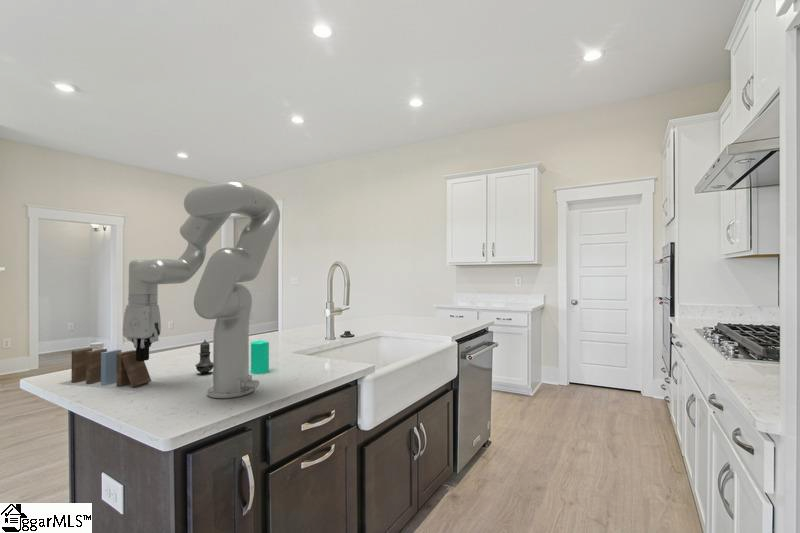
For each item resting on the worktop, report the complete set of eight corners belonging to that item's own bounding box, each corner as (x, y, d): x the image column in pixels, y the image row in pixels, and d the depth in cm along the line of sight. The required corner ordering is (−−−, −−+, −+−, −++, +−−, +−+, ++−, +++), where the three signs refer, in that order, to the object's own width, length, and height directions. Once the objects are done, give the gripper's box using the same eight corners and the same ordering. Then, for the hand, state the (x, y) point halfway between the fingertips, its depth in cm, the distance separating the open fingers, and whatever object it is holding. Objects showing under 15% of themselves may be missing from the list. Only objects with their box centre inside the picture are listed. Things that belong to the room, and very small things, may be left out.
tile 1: (151, 381, 124) (140, 351, 125) (136, 385, 119) (125, 354, 120) (147, 383, 125) (136, 353, 126) (132, 387, 120) (121, 356, 121)
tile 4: (106, 379, 129) (106, 348, 129) (90, 384, 124) (90, 351, 124) (102, 379, 129) (102, 348, 129) (86, 383, 124) (86, 351, 124)
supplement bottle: (92, 374, 137) (92, 344, 137) (83, 373, 139) (83, 343, 139) (110, 371, 142) (110, 342, 142) (100, 369, 144) (100, 341, 144)
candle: (251, 370, 142) (251, 336, 142) (269, 369, 144) (269, 335, 144) (250, 374, 136) (250, 339, 136) (268, 373, 138) (268, 338, 138)
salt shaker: (206, 377, 133) (206, 341, 133) (191, 376, 134) (191, 340, 134) (218, 373, 139) (218, 338, 139) (203, 372, 140) (203, 337, 140)
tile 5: (92, 378, 130) (92, 348, 130) (75, 383, 125) (76, 351, 125) (88, 378, 131) (88, 347, 131) (71, 382, 126) (71, 350, 126)
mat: (165, 383, 125) (165, 382, 125) (139, 392, 117) (139, 391, 117) (86, 377, 133) (86, 376, 133) (57, 384, 125) (57, 383, 125)
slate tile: (121, 381, 127) (121, 349, 127) (105, 385, 122) (105, 352, 122) (116, 380, 128) (117, 349, 128) (100, 385, 123) (101, 352, 123)
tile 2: (136, 382, 126) (136, 350, 126) (121, 386, 121) (121, 353, 121) (131, 382, 126) (131, 350, 126) (116, 386, 121) (116, 353, 121)
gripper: (112, 300, 120) (111, 361, 120) (152, 301, 117) (151, 364, 116) (134, 299, 128) (133, 356, 127) (173, 300, 124) (172, 359, 124)
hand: (142, 360), depth 122 cm, fingers closed
